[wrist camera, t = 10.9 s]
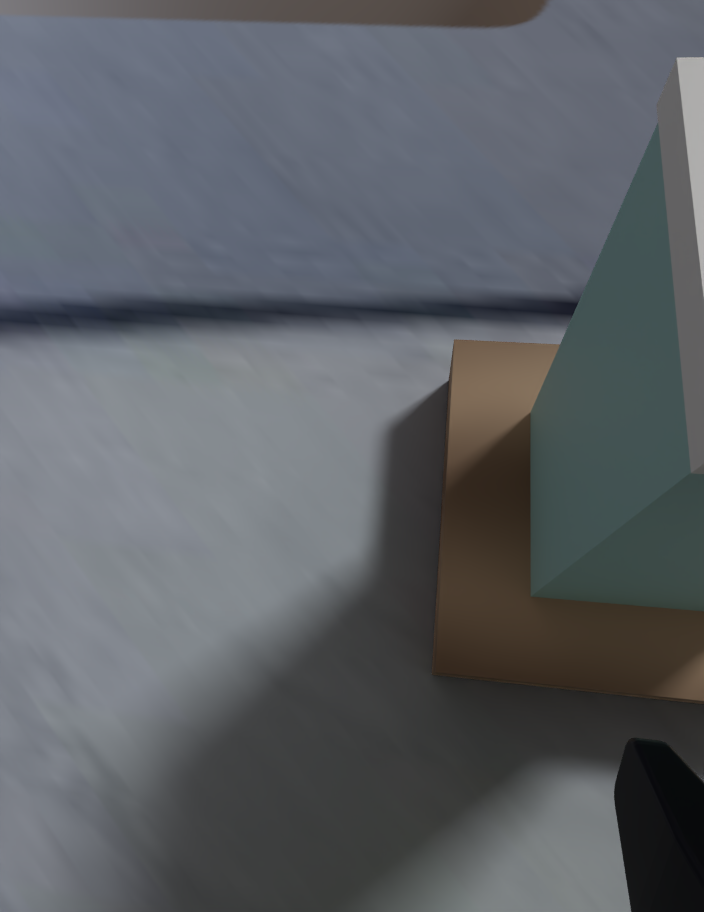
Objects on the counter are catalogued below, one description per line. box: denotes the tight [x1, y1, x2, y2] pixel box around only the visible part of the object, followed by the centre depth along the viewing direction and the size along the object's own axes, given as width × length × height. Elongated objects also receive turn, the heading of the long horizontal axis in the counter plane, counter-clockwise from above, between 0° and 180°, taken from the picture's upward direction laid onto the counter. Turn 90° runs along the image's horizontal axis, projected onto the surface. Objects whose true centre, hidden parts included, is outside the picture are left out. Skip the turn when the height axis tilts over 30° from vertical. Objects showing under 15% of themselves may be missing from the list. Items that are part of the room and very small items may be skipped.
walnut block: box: [432, 340, 704, 704], centre depth 21 cm, size 11×11×3 cm
